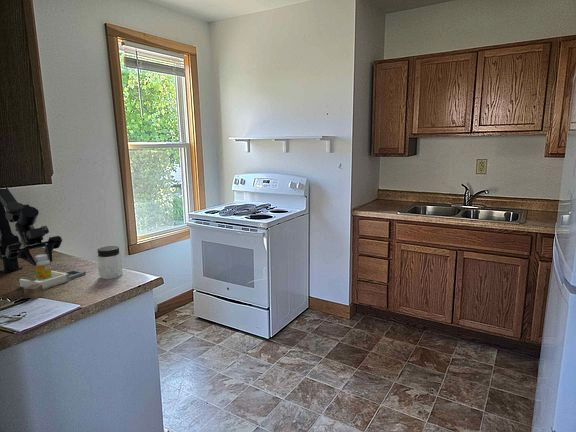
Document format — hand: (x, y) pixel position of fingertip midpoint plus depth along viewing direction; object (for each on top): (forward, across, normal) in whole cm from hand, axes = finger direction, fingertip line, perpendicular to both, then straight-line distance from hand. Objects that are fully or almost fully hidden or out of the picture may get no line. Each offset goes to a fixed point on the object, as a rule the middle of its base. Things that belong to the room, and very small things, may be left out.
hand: (43, 263), depth 144 cm
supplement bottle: (+4, 0, +6) cm, 7 cm away
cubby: (+5, 0, +7) cm, 9 cm away
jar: (+15, +19, -3) cm, 25 cm away
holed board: (+5, +10, +7) cm, 13 cm away
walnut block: (+14, -8, -1) cm, 16 cm away
